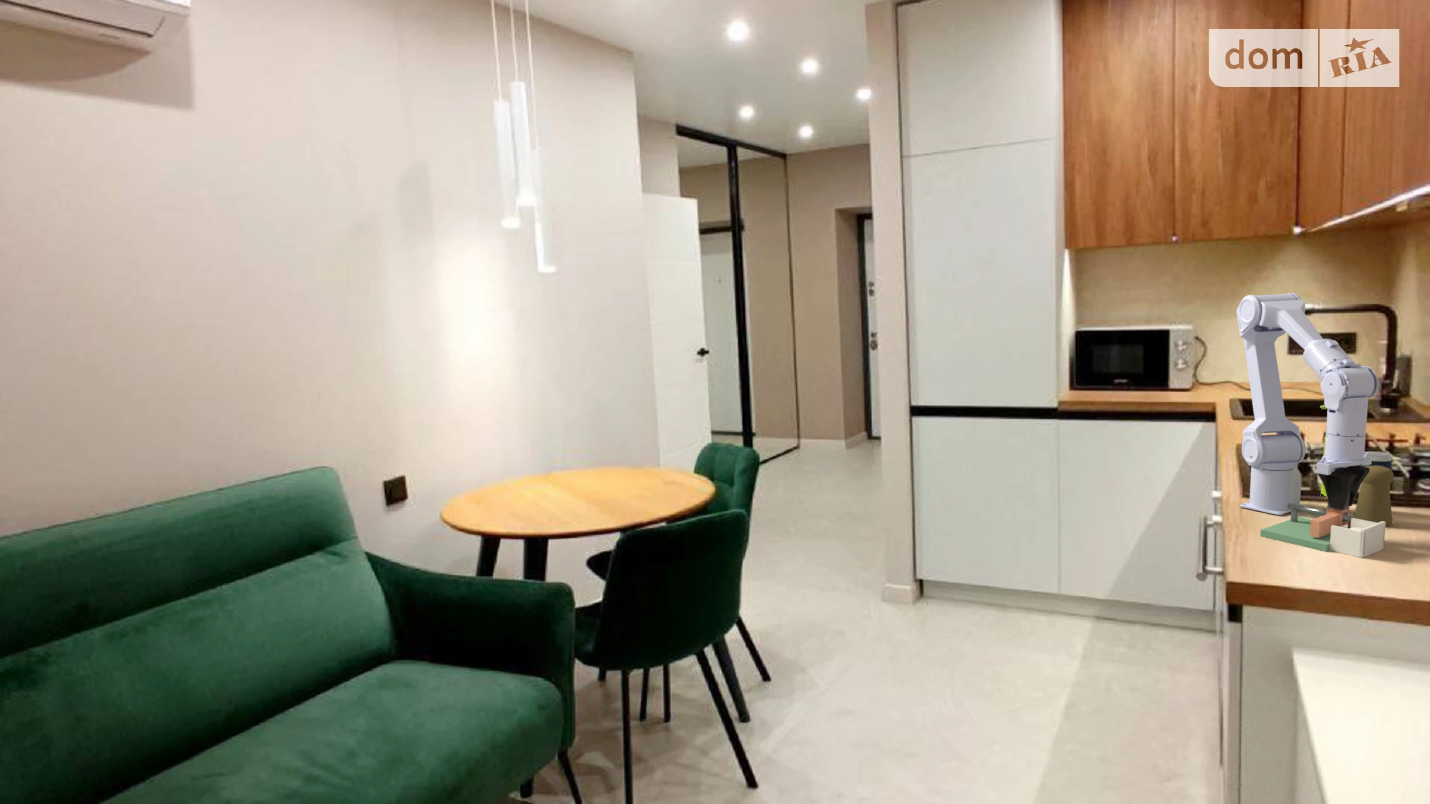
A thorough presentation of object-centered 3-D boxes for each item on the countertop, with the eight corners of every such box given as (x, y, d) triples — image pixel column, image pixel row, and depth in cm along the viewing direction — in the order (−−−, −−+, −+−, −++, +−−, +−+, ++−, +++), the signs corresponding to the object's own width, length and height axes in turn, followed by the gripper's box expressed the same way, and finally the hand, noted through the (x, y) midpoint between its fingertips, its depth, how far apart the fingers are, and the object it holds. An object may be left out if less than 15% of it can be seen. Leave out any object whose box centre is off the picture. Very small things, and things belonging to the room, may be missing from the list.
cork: (1375, 516, 163) (1379, 462, 162) (1401, 526, 157) (1405, 469, 156) (1345, 518, 163) (1348, 464, 161) (1370, 528, 157) (1374, 471, 156)
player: (1333, 525, 155) (1335, 487, 154) (1347, 528, 153) (1350, 489, 152) (1306, 535, 151) (1309, 495, 149) (1321, 538, 149) (1324, 498, 147)
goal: (1351, 541, 151) (1352, 515, 150) (1383, 549, 146) (1385, 521, 146) (1329, 550, 147) (1331, 522, 146) (1362, 557, 143) (1364, 529, 142)
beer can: (1359, 507, 170) (1363, 449, 168) (1389, 511, 166) (1394, 452, 164) (1355, 512, 166) (1359, 454, 164) (1386, 517, 163) (1390, 457, 161)
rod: (1290, 519, 161) (1291, 502, 160) (1355, 533, 151) (1356, 515, 151) (1286, 520, 160) (1287, 503, 160) (1352, 535, 151) (1353, 516, 150)
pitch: (1297, 522, 162) (1298, 516, 162) (1363, 536, 153) (1363, 530, 153) (1260, 535, 156) (1260, 529, 156) (1326, 551, 147) (1326, 545, 146)
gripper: (1350, 442, 143) (1345, 518, 145) (1391, 431, 150) (1386, 504, 152) (1305, 436, 149) (1301, 509, 151) (1346, 425, 156) (1342, 495, 158)
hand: (1340, 506), depth 152 cm, fingers closed on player, 2 cm apart
